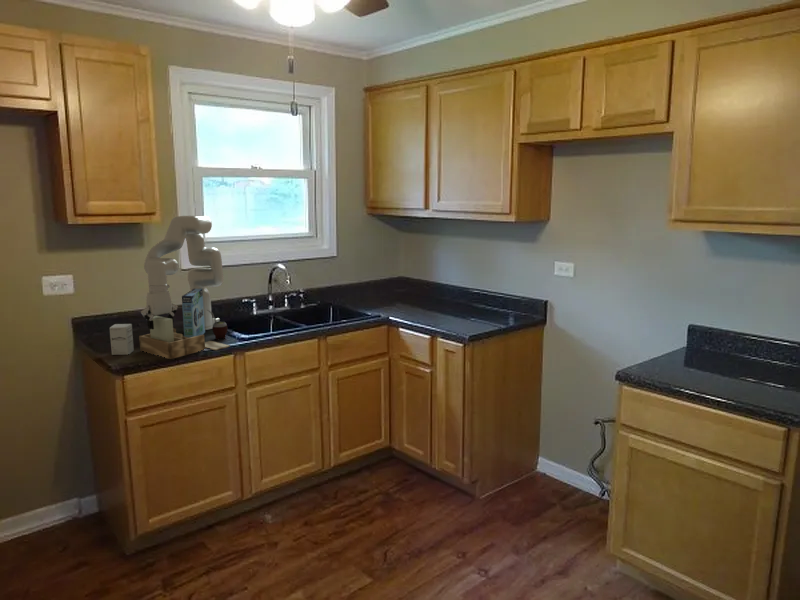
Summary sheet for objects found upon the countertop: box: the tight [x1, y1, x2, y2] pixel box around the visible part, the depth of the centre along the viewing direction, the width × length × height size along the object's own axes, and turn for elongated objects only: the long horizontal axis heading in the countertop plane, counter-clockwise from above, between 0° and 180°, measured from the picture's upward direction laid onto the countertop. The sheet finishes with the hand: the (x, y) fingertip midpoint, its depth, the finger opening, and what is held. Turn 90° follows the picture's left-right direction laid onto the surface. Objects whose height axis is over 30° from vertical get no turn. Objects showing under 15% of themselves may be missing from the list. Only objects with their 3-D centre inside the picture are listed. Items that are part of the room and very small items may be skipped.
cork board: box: [205, 340, 231, 351], centre depth 274 cm, size 8×14×1 cm, turn 55°
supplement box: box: [109, 323, 134, 356], centre depth 263 cm, size 7×7×13 cm
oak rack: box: [138, 327, 206, 360], centre depth 267 cm, size 18×22×7 cm
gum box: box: [181, 289, 206, 338], centre depth 288 cm, size 20×5×23 cm, turn 3°
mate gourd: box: [207, 310, 229, 341], centre depth 286 cm, size 8×8×15 cm
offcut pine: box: [174, 332, 184, 339], centre depth 272 cm, size 4×6×3 cm
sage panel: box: [149, 315, 174, 342], centre depth 262 cm, size 4×12×16 cm, turn 55°
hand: (161, 326), depth 261 cm, fingers open, 9 cm apart
